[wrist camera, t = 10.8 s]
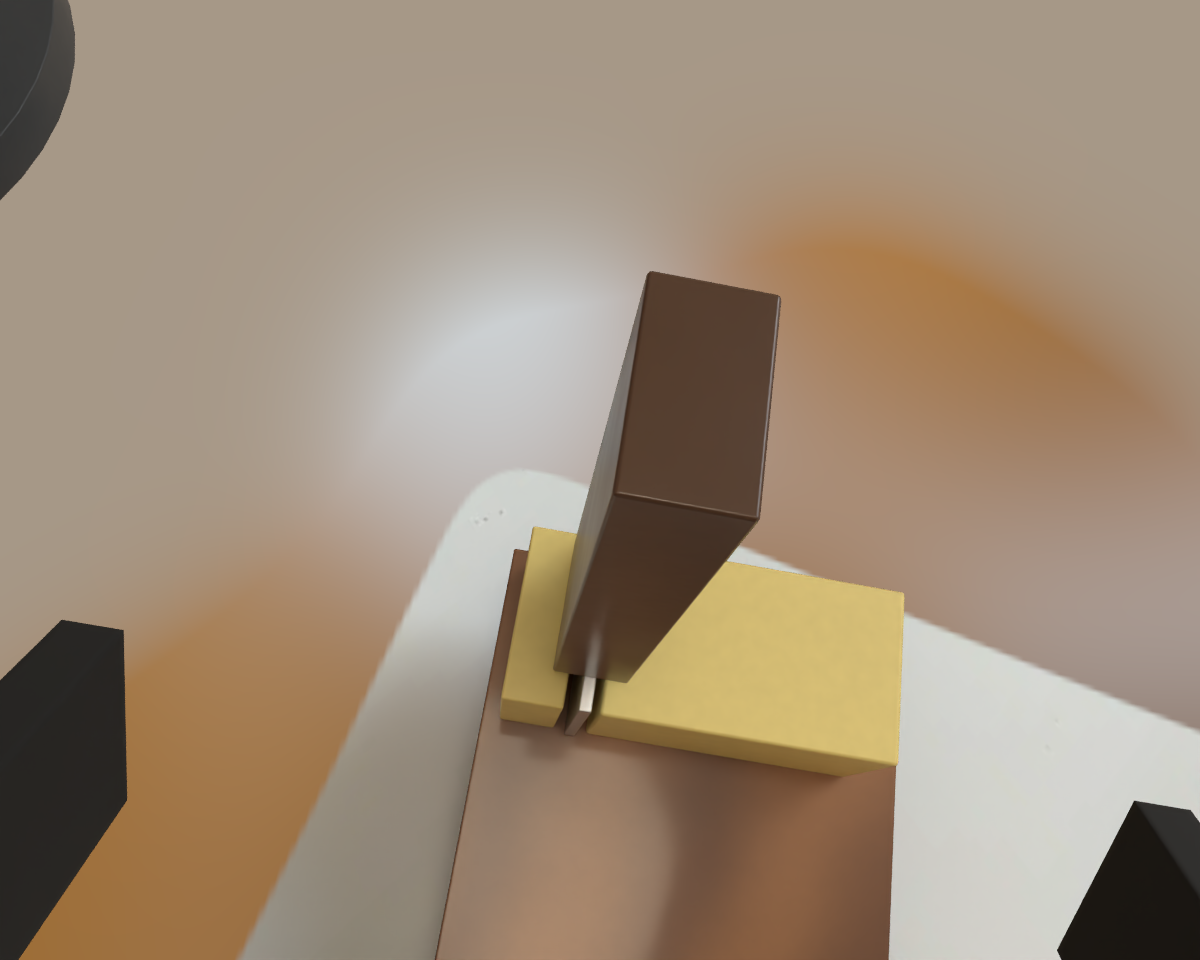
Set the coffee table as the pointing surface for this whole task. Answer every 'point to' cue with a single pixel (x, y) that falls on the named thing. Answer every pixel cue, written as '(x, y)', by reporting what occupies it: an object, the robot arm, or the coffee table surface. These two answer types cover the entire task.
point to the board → (659, 848)
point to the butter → (731, 668)
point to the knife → (668, 475)
